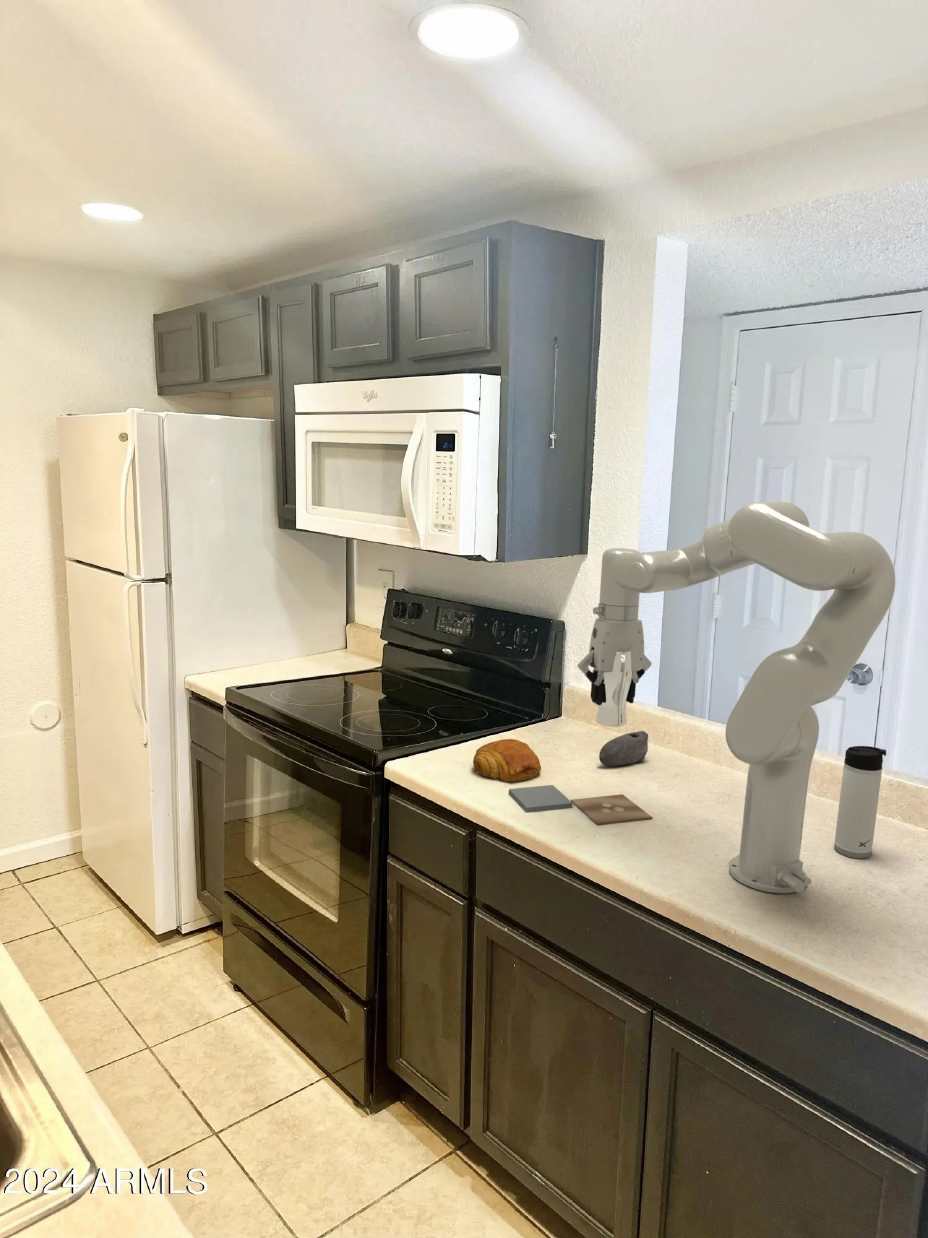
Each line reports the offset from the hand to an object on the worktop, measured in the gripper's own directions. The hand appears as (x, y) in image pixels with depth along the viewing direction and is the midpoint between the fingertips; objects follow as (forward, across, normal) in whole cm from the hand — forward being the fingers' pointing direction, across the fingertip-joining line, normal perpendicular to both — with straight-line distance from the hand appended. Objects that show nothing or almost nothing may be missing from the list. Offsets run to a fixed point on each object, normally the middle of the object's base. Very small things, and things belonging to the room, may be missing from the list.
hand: (612, 701), depth 165 cm
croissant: (+23, -12, +24) cm, 36 cm away
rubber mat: (+23, -11, +7) cm, 26 cm away
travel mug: (+23, +36, -28) cm, 51 cm away
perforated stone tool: (+23, +17, +24) cm, 37 cm away
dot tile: (+23, +1, -1) cm, 23 cm away
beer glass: (+4, 0, 0) cm, 4 cm away
